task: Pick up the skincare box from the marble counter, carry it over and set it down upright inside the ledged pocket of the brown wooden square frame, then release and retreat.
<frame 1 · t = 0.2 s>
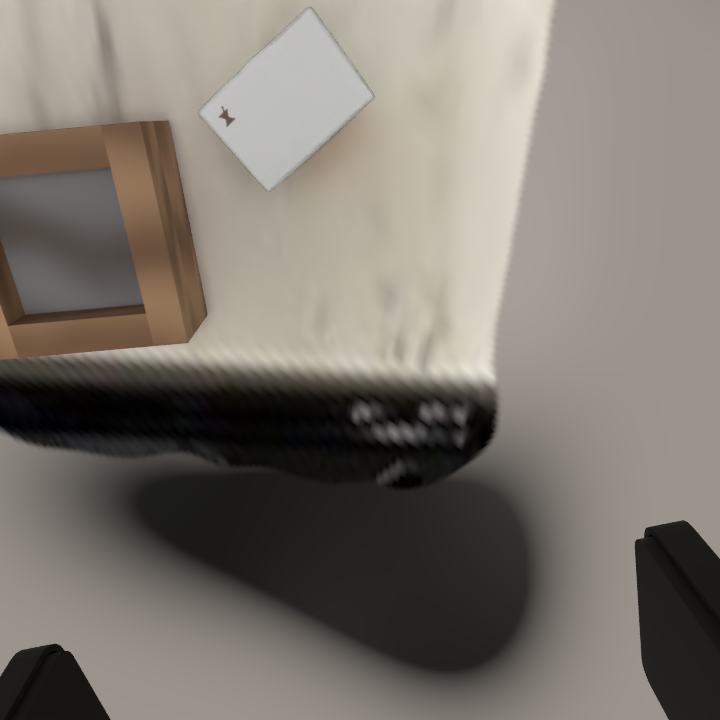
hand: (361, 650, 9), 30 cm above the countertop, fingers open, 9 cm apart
brown wooden square frame: (94, 232, 36), on the countertop
skincare box: (304, 107, 34), on the countertop
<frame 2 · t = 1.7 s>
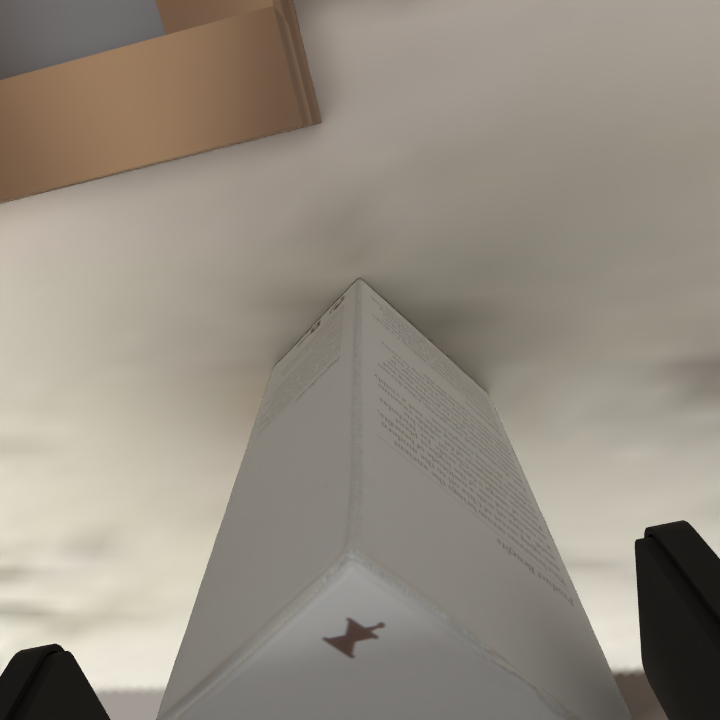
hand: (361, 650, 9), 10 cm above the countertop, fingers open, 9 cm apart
skincare box: (383, 380, 19), on the countertop
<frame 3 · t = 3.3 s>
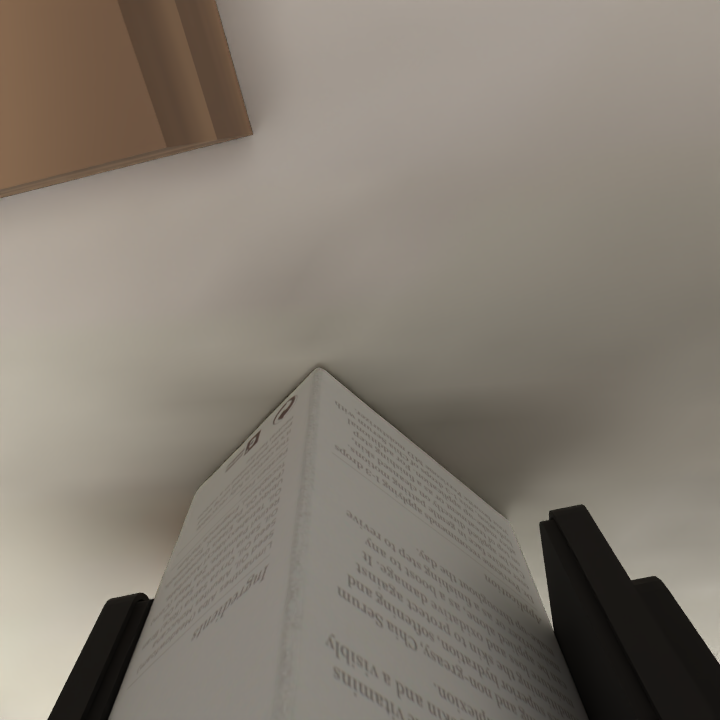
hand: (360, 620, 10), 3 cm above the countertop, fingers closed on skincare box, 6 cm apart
skincare box: (357, 501, 13), on the countertop, touching gripper
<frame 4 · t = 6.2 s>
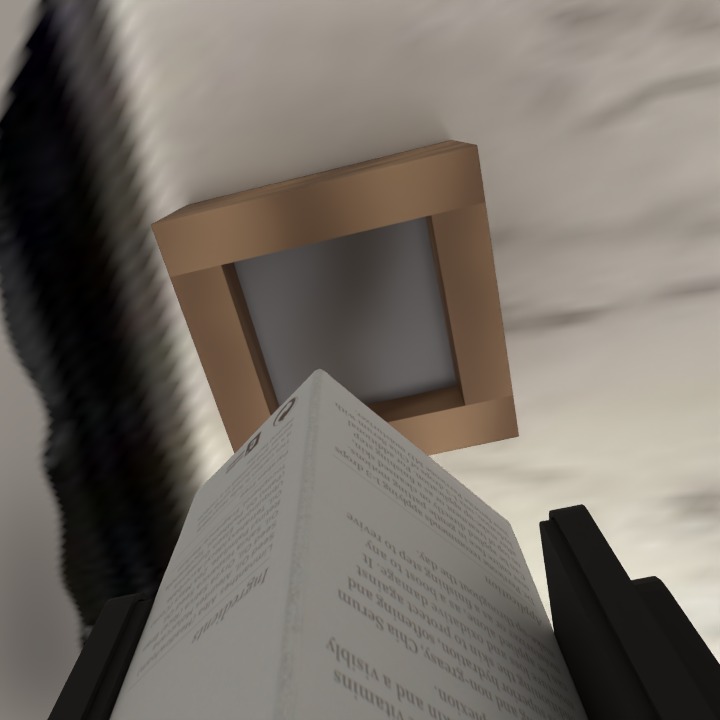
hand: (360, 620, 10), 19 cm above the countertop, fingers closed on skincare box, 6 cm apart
brown wooden square frame: (349, 301, 28), on the countertop
skincare box: (358, 502, 13), point 16 cm above the countertop, touching gripper
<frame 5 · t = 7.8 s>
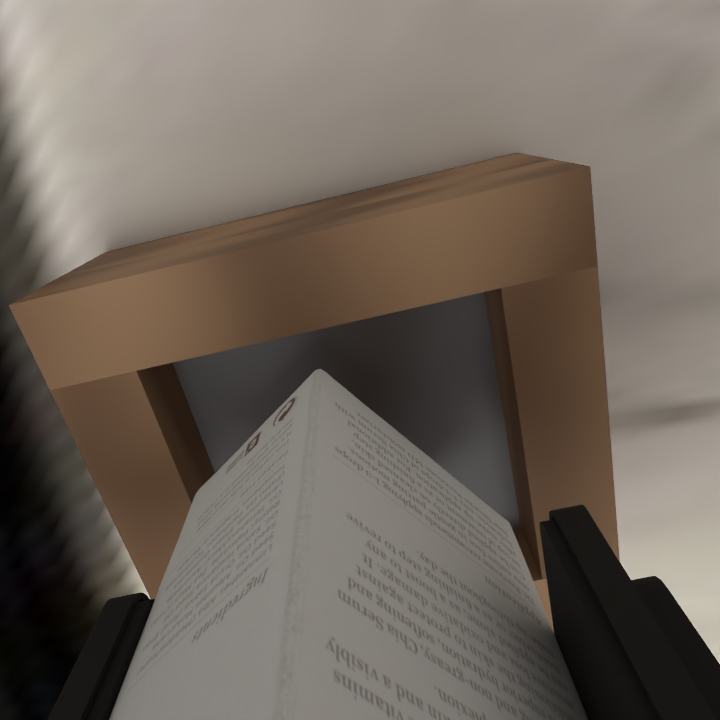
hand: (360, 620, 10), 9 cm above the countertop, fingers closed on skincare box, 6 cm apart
brown wooden square frame: (354, 390, 19), on the countertop
skincare box: (358, 502, 13), point 6 cm above the countertop, touching gripper
when the fingers open (8 cm above the countertop, at t = 9.1 s): skincare box drops 1 cm, resting on brown wooden square frame.
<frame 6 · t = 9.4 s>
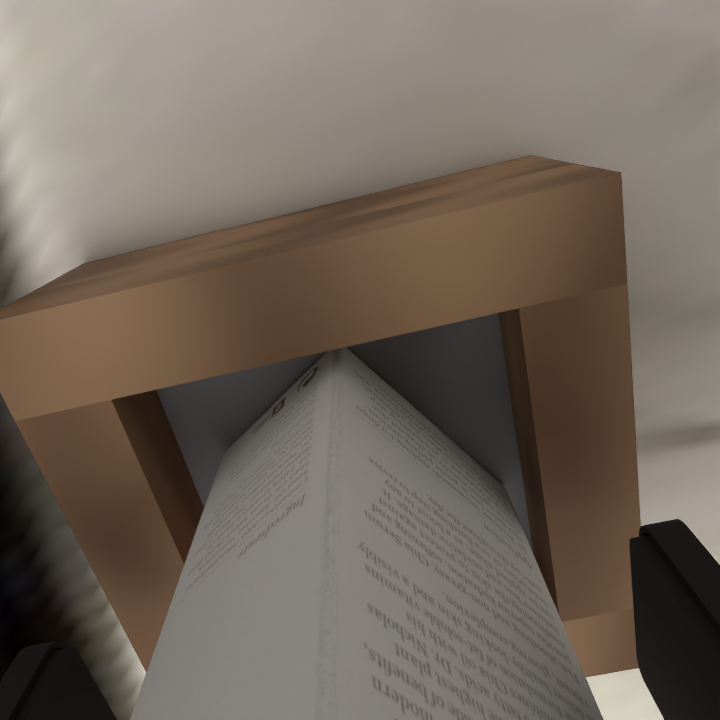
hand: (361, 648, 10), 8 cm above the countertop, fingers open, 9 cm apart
brown wooden square frame: (354, 410, 17), on the countertop
skincare box: (368, 467, 15), point 3 cm above the countertop, touching brown wooden square frame
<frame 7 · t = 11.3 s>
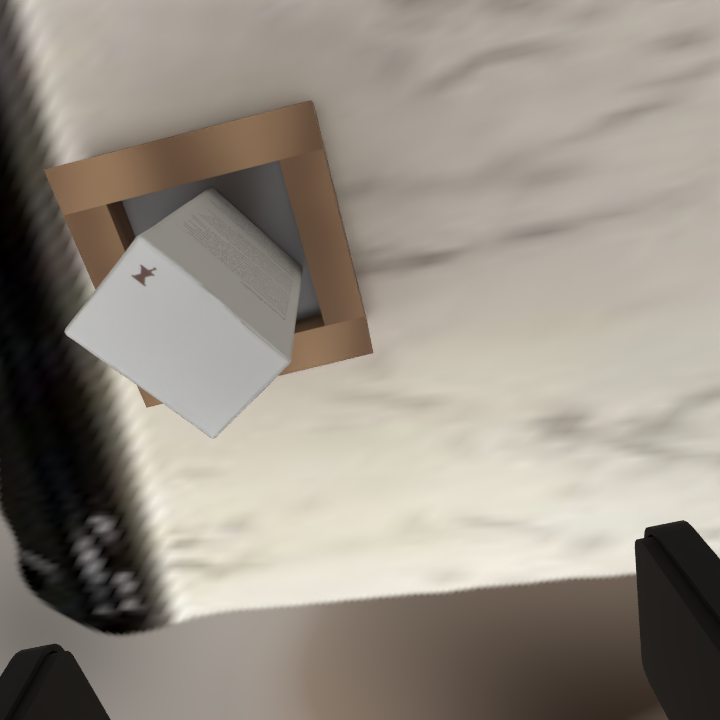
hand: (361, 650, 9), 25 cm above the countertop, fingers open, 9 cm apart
brown wooden square frame: (236, 245, 32), on the countertop
skincare box: (234, 258, 29), point 3 cm above the countertop, touching brown wooden square frame
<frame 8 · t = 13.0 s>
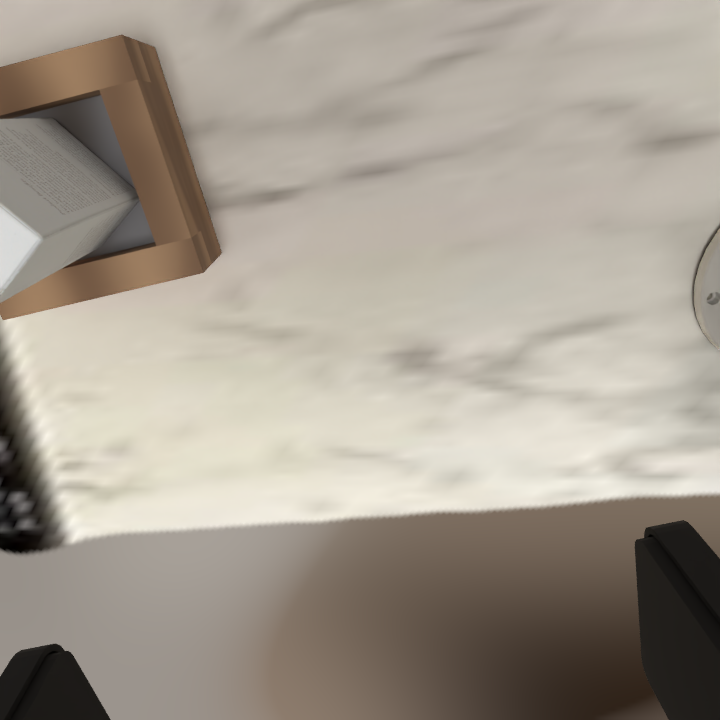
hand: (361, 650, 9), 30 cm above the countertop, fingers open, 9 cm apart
brown wooden square frame: (96, 180, 35), on the countertop
skincare box: (81, 186, 33), point 3 cm above the countertop, touching brown wooden square frame
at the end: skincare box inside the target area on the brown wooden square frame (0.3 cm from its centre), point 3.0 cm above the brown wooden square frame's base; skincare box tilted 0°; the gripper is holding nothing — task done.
